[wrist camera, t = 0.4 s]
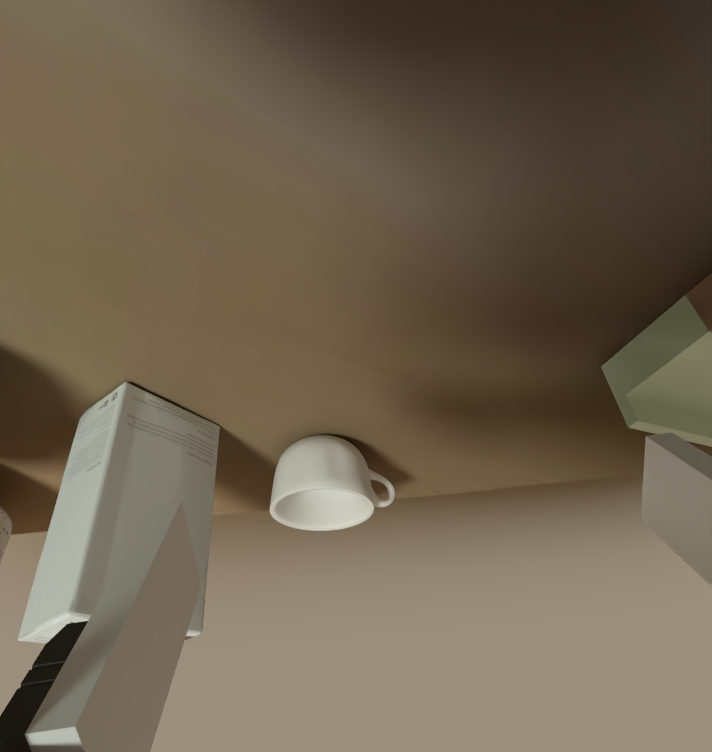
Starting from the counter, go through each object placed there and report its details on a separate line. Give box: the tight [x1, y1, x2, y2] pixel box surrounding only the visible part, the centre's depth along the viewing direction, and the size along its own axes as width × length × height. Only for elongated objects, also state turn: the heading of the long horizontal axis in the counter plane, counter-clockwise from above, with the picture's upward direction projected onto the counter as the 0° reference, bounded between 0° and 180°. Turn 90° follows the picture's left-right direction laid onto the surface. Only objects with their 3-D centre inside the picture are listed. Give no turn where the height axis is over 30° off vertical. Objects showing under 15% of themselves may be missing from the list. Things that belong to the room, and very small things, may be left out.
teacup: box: [270, 435, 395, 531], centre depth 41 cm, size 10×8×5 cm
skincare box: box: [18, 382, 220, 643], centre depth 34 cm, size 8×6×15 cm
